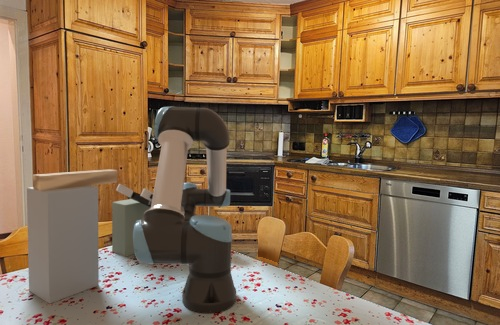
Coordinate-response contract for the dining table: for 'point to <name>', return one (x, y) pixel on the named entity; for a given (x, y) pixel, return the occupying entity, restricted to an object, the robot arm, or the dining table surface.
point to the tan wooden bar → (73, 179)
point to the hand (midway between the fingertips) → (129, 189)
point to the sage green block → (125, 224)
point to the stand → (62, 241)
